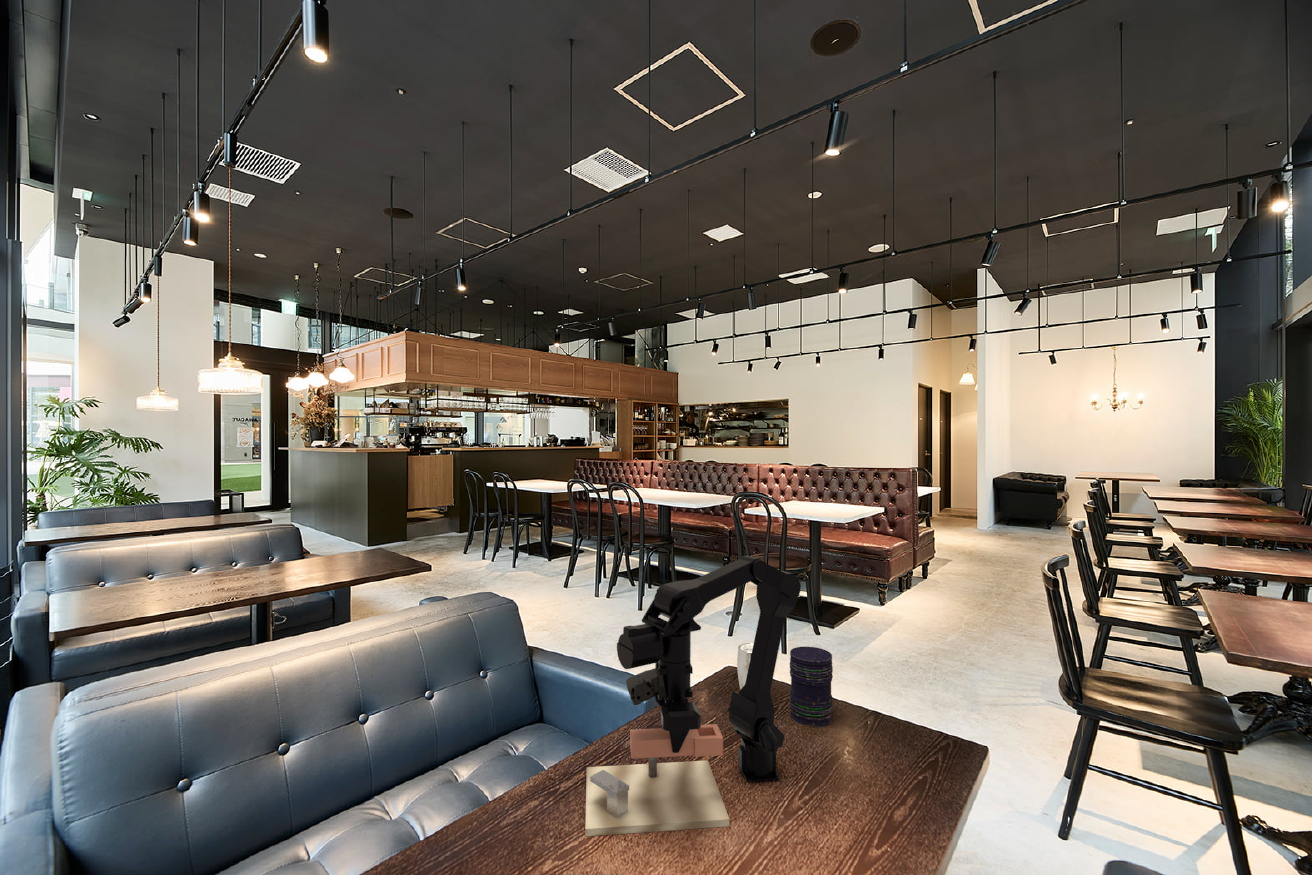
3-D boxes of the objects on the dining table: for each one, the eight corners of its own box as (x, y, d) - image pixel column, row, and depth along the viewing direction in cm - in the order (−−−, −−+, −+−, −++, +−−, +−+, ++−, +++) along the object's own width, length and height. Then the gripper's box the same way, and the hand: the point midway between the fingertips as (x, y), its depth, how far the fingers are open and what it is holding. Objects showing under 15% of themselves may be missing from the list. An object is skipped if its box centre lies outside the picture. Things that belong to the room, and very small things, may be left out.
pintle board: (707, 766, 113) (707, 743, 113) (729, 826, 95) (729, 799, 95) (586, 773, 110) (586, 750, 110) (585, 836, 92) (585, 808, 92)
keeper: (603, 794, 102) (603, 769, 102) (629, 811, 97) (629, 785, 97) (590, 801, 100) (590, 776, 100) (616, 819, 95) (616, 792, 95)
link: (716, 740, 104) (716, 724, 104) (723, 755, 99) (723, 737, 99) (629, 744, 102) (630, 728, 102) (631, 759, 97) (631, 742, 97)
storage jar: (782, 709, 138) (782, 647, 138) (818, 705, 140) (818, 644, 140) (802, 729, 128) (802, 663, 128) (841, 724, 130) (841, 659, 131)
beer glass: (766, 717, 133) (766, 653, 134) (736, 715, 135) (736, 651, 135) (766, 704, 140) (766, 643, 140) (737, 702, 142) (738, 641, 142)
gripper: (626, 641, 109) (625, 722, 109) (633, 680, 91) (632, 778, 91) (683, 639, 111) (682, 720, 110) (701, 677, 92) (700, 774, 92)
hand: (673, 745), depth 101 cm, fingers closed on link, 4 cm apart
